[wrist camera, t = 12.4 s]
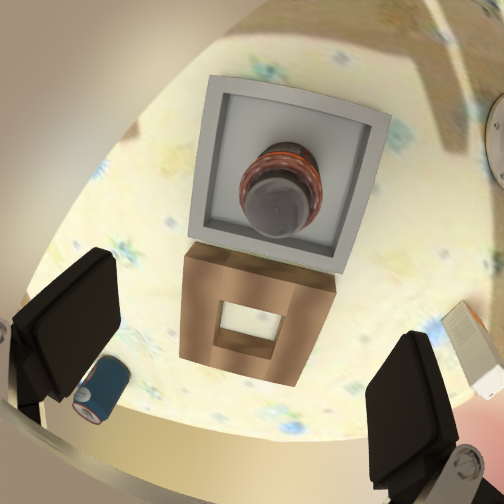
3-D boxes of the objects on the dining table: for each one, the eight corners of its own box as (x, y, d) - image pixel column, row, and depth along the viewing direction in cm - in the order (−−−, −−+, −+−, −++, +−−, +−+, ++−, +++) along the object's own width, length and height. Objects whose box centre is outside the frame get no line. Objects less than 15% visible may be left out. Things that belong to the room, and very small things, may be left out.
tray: (383, 114, 24) (391, 115, 22) (339, 260, 32) (342, 274, 29) (219, 77, 25) (209, 74, 23) (197, 225, 33) (187, 236, 30)
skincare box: (481, 318, 32) (514, 380, 21) (459, 338, 34) (486, 402, 23) (462, 298, 31) (499, 363, 20) (439, 320, 33) (468, 389, 22)
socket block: (334, 275, 33) (336, 293, 30) (296, 368, 40) (294, 386, 37) (195, 241, 34) (184, 255, 31) (187, 340, 41) (179, 357, 38)
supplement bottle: (245, 157, 28) (210, 185, 18) (301, 130, 26) (299, 142, 16) (273, 210, 30) (255, 265, 20) (328, 186, 28) (340, 232, 18)
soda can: (97, 348, 47) (64, 395, 37) (130, 362, 47) (99, 413, 36) (103, 371, 51) (74, 415, 40) (133, 384, 50) (107, 432, 40)
